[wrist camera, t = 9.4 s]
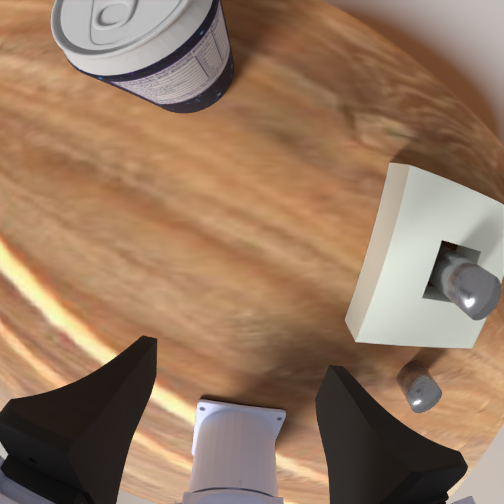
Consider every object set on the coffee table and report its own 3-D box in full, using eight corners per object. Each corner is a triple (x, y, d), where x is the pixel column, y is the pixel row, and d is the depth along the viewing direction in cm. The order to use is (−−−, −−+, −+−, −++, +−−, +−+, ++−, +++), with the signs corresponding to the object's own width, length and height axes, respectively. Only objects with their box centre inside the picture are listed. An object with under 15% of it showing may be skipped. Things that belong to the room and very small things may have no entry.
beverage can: (239, 37, 16) (225, -79, 5) (230, 117, 18) (197, 64, 7) (155, 37, 16) (67, -51, 5) (144, 114, 18) (26, 83, 6)
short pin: (415, 385, 25) (431, 411, 21) (391, 385, 25) (406, 413, 21) (428, 361, 24) (447, 387, 20) (404, 360, 24) (422, 388, 20)
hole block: (455, 331, 23) (471, 348, 20) (344, 320, 22) (355, 341, 20) (499, 206, 19) (522, 213, 17) (389, 162, 19) (409, 164, 16)
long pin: (440, 279, 21) (489, 321, 15) (412, 275, 21) (460, 319, 15) (451, 244, 21) (506, 278, 14) (423, 238, 20) (478, 272, 14)
